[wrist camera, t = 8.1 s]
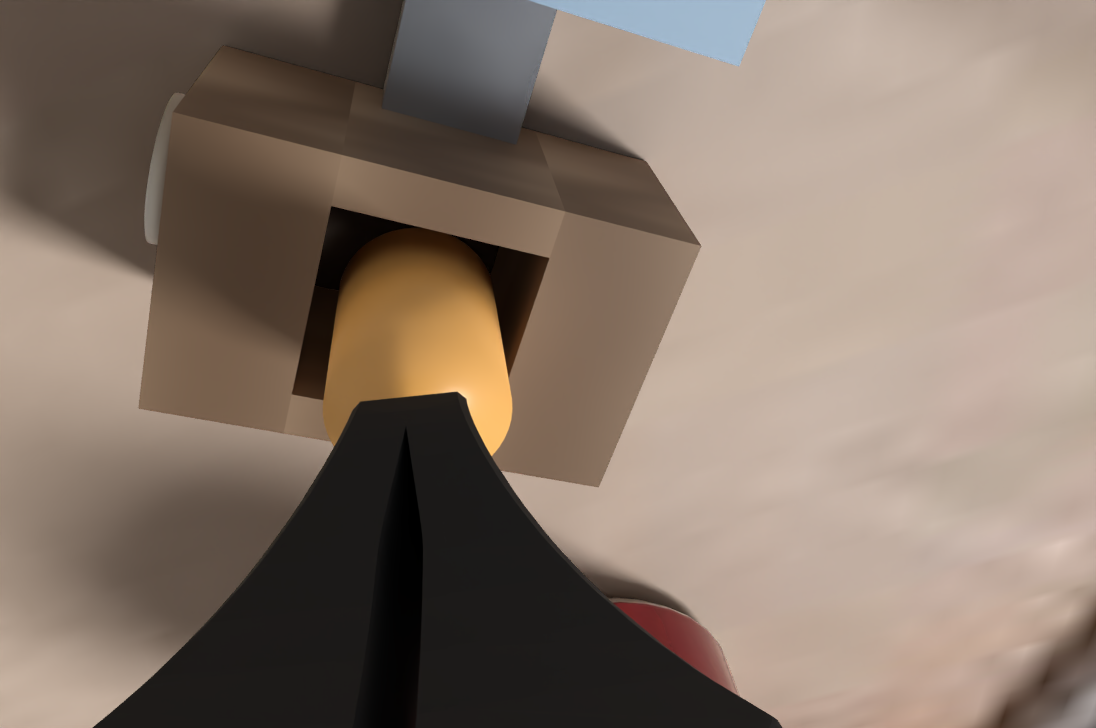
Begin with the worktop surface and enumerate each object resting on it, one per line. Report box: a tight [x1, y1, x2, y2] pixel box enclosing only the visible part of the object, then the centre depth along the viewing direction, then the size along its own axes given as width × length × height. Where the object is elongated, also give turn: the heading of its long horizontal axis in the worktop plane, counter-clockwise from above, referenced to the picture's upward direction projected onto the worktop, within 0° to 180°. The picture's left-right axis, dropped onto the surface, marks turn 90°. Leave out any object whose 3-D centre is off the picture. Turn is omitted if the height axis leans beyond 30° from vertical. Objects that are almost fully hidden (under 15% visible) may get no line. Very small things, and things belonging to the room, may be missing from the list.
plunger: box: [323, 228, 512, 456], centre depth 14 cm, size 3×3×3 cm
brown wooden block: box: [139, 45, 701, 487], centre depth 16 cm, size 8×5×4 cm, turn 72°
